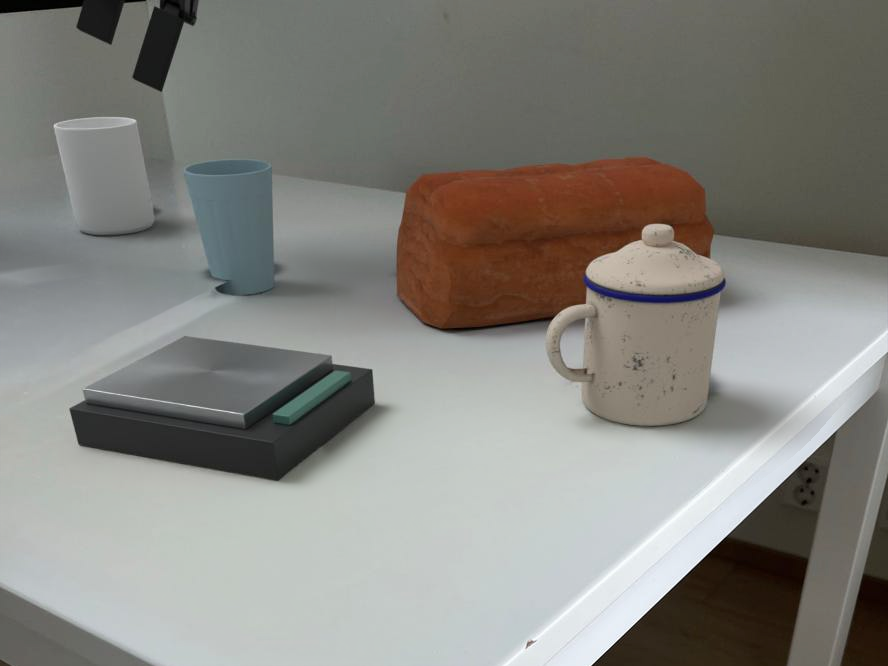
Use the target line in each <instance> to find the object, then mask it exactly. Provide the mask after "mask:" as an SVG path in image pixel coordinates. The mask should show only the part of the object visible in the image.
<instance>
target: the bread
mask: <svg viewBox="0 0 888 666" xmlns="http://www.w3.org/2000/svg"><path fill="white" fill-rule="evenodd" d="M706 213H707V200H706V190H705V187H704V186H703V185H701V184H700V183H699V182H698V181H697V180H696V179H695V178H694V176H692V175H691V174H690V173H689V172H688V171H686V170H684V169H682V168H678V167H676V166H674V165H671V164H668V163H662V162H660V161H658V160H655V159H653V158H651V157H648V156H631V157H629V156H628V157H623V158H603V159H597V160H593V161H588V162H587V161H586V162H581V163H576V164H566V163H560V162H559V163H557V162H556V163H547V164H546V163H545V164H534V165H524V166H518V167H513V168H507V169H502V170H499V169H469V170H468V169H466V170H460V171H454V172H453V171H452V172H451V171H450V172H438V173H426V174H425V173H423V174H421V175H420V177H418V178H417V179H416V180H415V181H414V182H413V183H412V184H411V185H410V186H409V187H408V189H407V190H406V192H405V197H404V205H403V210H402V215H401V222H400V224H399V227H398V230H397V240H396V261H395V263H396V266H395V267H396V296H397V297H398V298H399V299H400V301H402V302H403V303H404V304H405V305H406V306H407V307H408V309H409V310H410V311H411V312H412V313H413V314H414V315H415V316H416V317H417V318H418V319H419V320H420V321H421V322H422V323H424V324H426V325H430V326H433V327H436V328H439V329H457V328H458V329H459V328H480V327H489V326H496V325H497V326H498V325H503V324H512V323H521V322H528V321H535V320H540V319H542V320H543V319H547V318H555V317H556V316H557V315H558V314H559V313H560V312H561V311H563V310H564V309H566V308H568V307H571V306H575V305H582V304H586V294H587V286H586V285H585V283H584V274H585V273H586V269H587V267H588V266H589V264H590V263H591V262H592V261H593V260H595V259H596V258H598V257H601V256H603V255H606V254H610V253H614V252H617V251H619V250H620V249H622V248H623V247H624V246H626V245H628V244H630V243H632V242H636V241H639V240H642V231H643V229H644V227H645V226H647V225H650V224H665V225H669V226H671V227H672V228H673V230H674V239H673V241H675V242H678V243H681V244H683V245H685V246H687V247H688V248H690V249H691V250H692V251H693V252H694V253H696V254H697V255H700V256H704V257H706V258H709V259H711V251H712V250H711V248H712V244H713V243H712V242H713V238H714V235H715V231H716V230H715V228H714V227H713V224H712V223H711V221H710V220H709V218H708V216H707V214H706Z"/></svg>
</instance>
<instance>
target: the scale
mask: <svg viewBox="0 0 888 666" xmlns="http://www.w3.org/2000/svg"><path fill="white" fill-rule="evenodd" d="M374 384H375V383H374V373H373V369H372V368H366V367H360V366H352V365H344V364H336V363H334V362H333V356H332V355H331V354H324V353H318V352H317V353H316V352H309V351H301V350H294V349H286V348H278V347H273V346H272V347H270V346H263V345H256V344H247V343H241V342H235V341H234V342H233V341H227V340H218V339H212V338H211V339H210V338H205V337H195V336H188V335H184V336H182V337H180V338H178V339H176V340H174V341H173V342H170V343H168V344H166V345H165V346H163V347H161V348H159V349H156V350H155V351H153V352H151V353H149V354H147V355H145V356H143V357H141V358H140V359H137V360H135V361H134V362H131V363H130V364H128V365H126V366H124V367H122V368H120V369H118V370H117V371H114V372H113V373H111V374H108V375H106V376H104V377H103V378H101V379H99V380H97V381H95V382H93V383H91V384H89V385H87V386H85V387H83V388H82V392H83V397H84V400H82V401H80V402H78V403H76V404H75V405H73V406H71V407H69V408H68V409H69V414H70V418H71V421H72V425H73V429H74V433H75V436H76V441H77V444H78V445H79V446H84V447H89V448H94V449H100V450H106V451H111V452H117V453H122V454H127V455H128V454H129V455H134V456H140V457H144V458H145V457H146V458H151V459H156V460H163V461H167V462H172V463H178V464H185V465H190V466H195V467H201V468H205V469H212V470H217V471H223V472H228V473H235V474H238V475H239V474H240V475H244V476H250V477H256V478H261V479H267V480H272V481H273V480H274V481H279V480H281V479H282V478H283V477H284V476H286V475H287V474H289V473H290V472H291V471H292V470H293V469H295V468H296V467H297V466H299V465H300V464H301V463H302V462H303V461H305V460H306V459H307V458H309V456H311V455H312V454H313V453H315V452H316V451H318V450H319V449H320V448H321V447H322V446H323V445H325V444H326V443H327V442H329V441H330V440H331V439H332V438H333V437H335V436H337V435H338V433H340V432H341V431H342V430H343V429H345V428H346V427H348V426H349V425H350V424H352V423H353V422H354V421H355V420H357V418H359V417H360V416H361V415H362V414H364V413H365V412H367V411H368V410H369V409H370V408H372V406H374V405H375V404H376V400H375V399H376V398H375V386H374Z"/></svg>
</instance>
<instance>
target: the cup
mask: <svg viewBox="0 0 888 666" xmlns="http://www.w3.org/2000/svg"><path fill="white" fill-rule="evenodd" d="M272 165H273V164H272V163H270V162H268V161H265V160H260V159H252V158H228V159H227V158H226V159H215V160H206V161H200V162H195V163H191V164H188V165H186V166H185V167H183V169H182V173H183V177H184V180H185V181H184V182H185V184H186V188H187V191H188V194H189V198H190V201H191V205H192V209H193V213H194V217H195V221H196V224H197V227H198V228H197V229H198V231H199V235H200V238H201V243H202V247H203V250H204V254H205V257H206V261H207V264H208V268H209V272H210V275H211V277H212V278H216V279H217V280H223V281H225V282H223V283H221V284H219V285H217V286H215V287H214V290H215V291H216V292H218V293H219V294H223V295H228V296H248V295H247V294H250V295H256V294H255V293H257V294H261V293H265V292H267V291H269V290H272V289H273V287H275V249H274V247H275V245H274V244H275V243H274V242H275V241H274V209H273V208H274V207H273V206H274V205H273V204H274V203H273V202H274V201H273V166H272ZM260 292H261V293H260Z"/></svg>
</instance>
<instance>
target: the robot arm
mask: <svg viewBox="0 0 888 666" xmlns="http://www.w3.org/2000/svg"><path fill="white" fill-rule="evenodd" d="M125 2H126V0H83V2H82V6H81V8H80V11H79V16H78V20H77V23H76V26H75V28H76V29H77V30H78V31H80V32H82V33H84V34H86V35H88V36H91V37H93V38H95V39H97V40H99V41H102V42H103V43H106V44H108V45H110V46H112V45H113V42H114V37H115V35H116V32H117V28H118V25H119V21H120V17H121V15H122V12H123V8H124V6H125V5H124V4H125ZM199 2H200V0H159V7H158V6H155V5H154V6H153V9H152V12H151V15H150V19H149V22H148V25H147V28H146V31H145V33H144V34H145V35H144V38H143V41H142V44H141V48H140V51H139V54H138V57H137V61H136V63H135V67H134V70H133V73H132V76H131V78H132V79H133V80H134V81H137V82H138V83H140V84H143V85H145V86H146V87H149V88H151V89H153V90H156V91H158V92H160V93H162V92H163V90H164V87H165V84H166V80H167V77H168V74H169V71H170V68H171V65H172V62H173V59H174V55H175V53H176V50H177V46H178V43H179V40H180V37H181V34H182V30H183V27H184V24H187V25H189V26H191V27H194V26H195V25H196V23H197V21H198V20H197V19H198V16H197V15H198V7H199Z"/></svg>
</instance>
